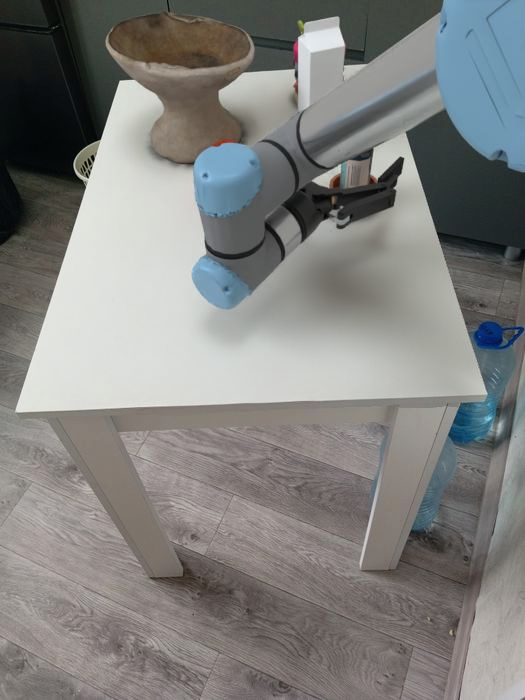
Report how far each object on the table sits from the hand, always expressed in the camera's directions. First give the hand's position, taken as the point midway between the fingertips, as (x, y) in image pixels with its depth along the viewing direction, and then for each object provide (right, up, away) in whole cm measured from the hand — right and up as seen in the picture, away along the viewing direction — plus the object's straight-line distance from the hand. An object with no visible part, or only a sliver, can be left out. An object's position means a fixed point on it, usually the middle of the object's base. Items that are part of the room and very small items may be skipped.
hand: (362, 150), depth 81 cm
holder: (0, -6, +7) cm, 9 cm away
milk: (-5, +7, +18) cm, 20 cm away
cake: (-4, +22, +28) cm, 36 cm away
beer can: (0, -6, +7) cm, 9 cm away
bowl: (-29, +11, +22) cm, 38 cm away
